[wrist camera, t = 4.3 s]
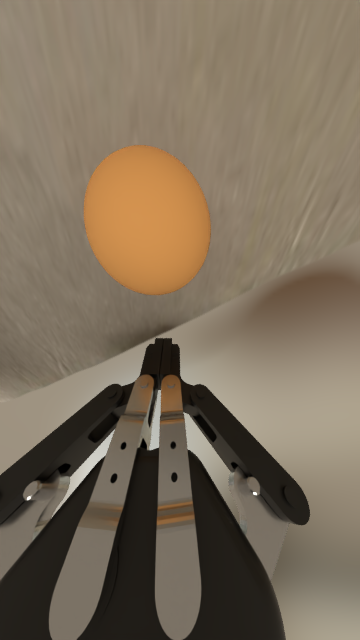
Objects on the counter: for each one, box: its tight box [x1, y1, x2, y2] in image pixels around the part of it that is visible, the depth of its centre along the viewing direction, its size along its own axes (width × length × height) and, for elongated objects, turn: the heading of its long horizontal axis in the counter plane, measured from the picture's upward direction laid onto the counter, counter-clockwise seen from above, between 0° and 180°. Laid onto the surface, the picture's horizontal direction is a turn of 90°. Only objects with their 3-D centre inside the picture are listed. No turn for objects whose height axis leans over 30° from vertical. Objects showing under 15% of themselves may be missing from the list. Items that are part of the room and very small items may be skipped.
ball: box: [84, 145, 211, 295], centre depth 7 cm, size 6×6×6 cm
